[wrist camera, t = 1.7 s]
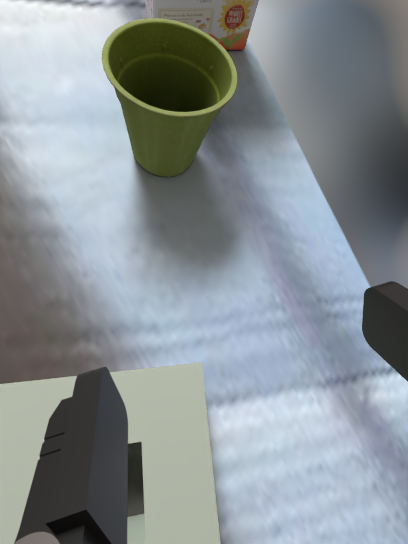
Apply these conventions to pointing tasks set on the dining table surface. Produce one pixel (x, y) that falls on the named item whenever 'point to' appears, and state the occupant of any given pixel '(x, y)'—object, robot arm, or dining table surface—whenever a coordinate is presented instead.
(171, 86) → the plant pot
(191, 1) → the cracker box
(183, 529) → the hole block
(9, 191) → the dining table surface
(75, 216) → the dining table surface
